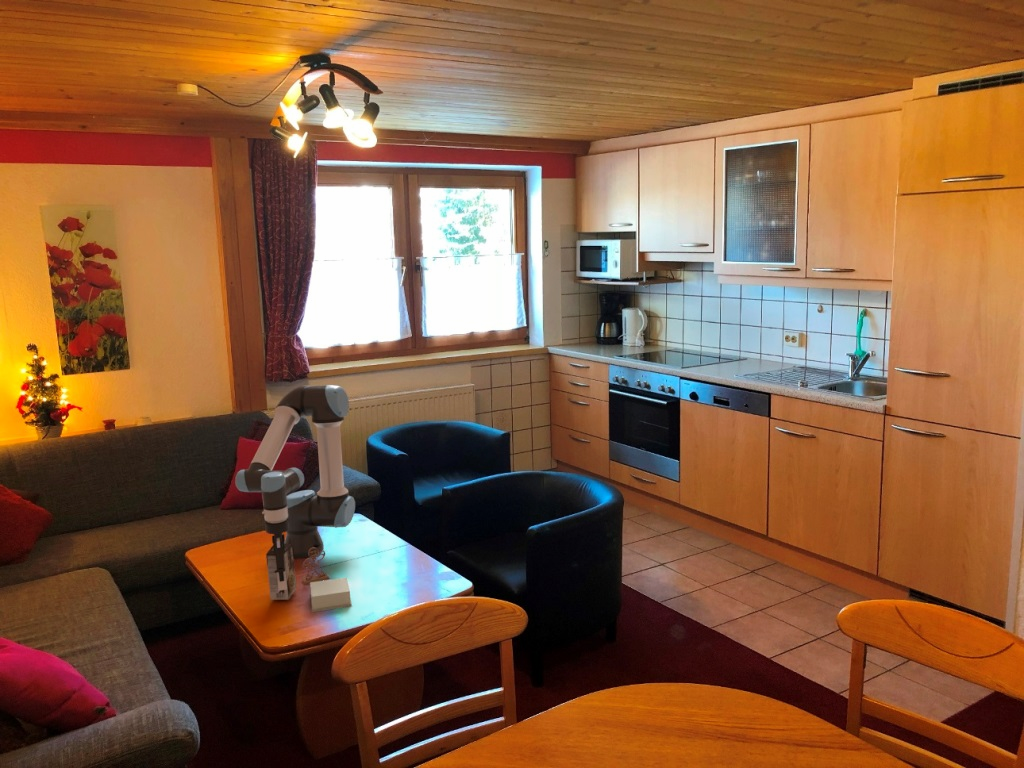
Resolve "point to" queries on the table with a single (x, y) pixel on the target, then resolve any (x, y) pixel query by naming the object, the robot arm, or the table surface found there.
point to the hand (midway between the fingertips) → (282, 583)
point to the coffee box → (289, 570)
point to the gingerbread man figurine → (318, 577)
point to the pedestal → (330, 594)
